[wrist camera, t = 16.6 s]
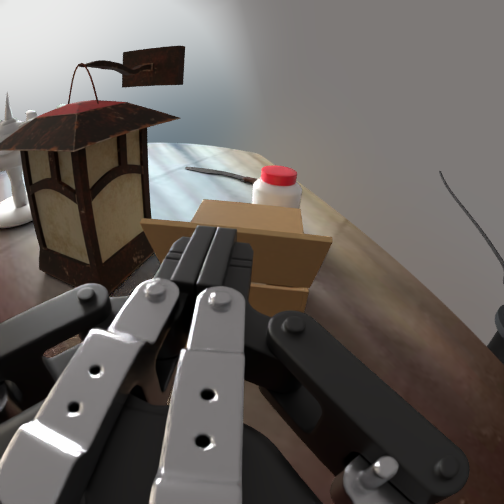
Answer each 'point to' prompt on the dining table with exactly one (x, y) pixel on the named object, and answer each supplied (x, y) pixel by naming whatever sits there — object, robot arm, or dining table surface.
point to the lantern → (95, 175)
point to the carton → (266, 218)
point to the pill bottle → (277, 188)
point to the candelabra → (14, 174)
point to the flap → (255, 250)
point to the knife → (244, 179)
